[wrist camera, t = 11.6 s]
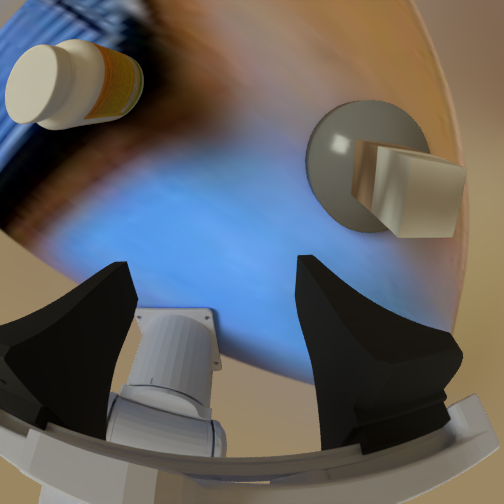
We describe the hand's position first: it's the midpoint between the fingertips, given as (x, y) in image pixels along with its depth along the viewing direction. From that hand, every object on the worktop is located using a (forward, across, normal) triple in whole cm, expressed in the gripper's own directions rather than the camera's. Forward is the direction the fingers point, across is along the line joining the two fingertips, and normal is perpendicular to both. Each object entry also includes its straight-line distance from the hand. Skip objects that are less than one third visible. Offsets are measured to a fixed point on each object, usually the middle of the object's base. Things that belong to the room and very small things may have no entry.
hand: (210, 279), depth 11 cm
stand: (+10, -11, -3) cm, 15 cm away
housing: (+8, -11, -3) cm, 14 cm away
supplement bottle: (+11, +8, -10) cm, 17 cm away
